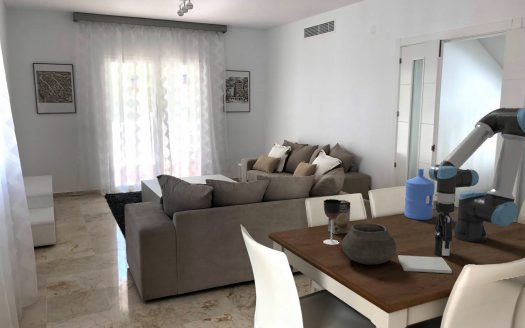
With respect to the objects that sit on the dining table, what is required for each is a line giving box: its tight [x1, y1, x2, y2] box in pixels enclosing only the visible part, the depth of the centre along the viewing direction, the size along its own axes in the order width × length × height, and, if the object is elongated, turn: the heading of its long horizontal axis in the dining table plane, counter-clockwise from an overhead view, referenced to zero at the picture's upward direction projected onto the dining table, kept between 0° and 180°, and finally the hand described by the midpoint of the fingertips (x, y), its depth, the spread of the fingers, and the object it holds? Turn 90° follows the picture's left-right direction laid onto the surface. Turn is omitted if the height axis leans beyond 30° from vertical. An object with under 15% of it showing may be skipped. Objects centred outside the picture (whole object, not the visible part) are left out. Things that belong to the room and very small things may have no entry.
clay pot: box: [341, 222, 397, 265], centre depth 177 cm, size 22×21×15 cm
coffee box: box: [327, 199, 351, 235], centre depth 218 cm, size 9×6×16 cm
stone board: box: [397, 254, 453, 274], centre depth 174 cm, size 18×14×1 cm
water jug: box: [403, 168, 435, 221], centre depth 246 cm, size 16×16×28 cm
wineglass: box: [323, 198, 341, 246], centre depth 201 cm, size 8×9×20 cm
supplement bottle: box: [433, 226, 452, 257], centre depth 186 cm, size 7×7×12 cm
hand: (442, 250), depth 187 cm, fingers open, 11 cm apart
